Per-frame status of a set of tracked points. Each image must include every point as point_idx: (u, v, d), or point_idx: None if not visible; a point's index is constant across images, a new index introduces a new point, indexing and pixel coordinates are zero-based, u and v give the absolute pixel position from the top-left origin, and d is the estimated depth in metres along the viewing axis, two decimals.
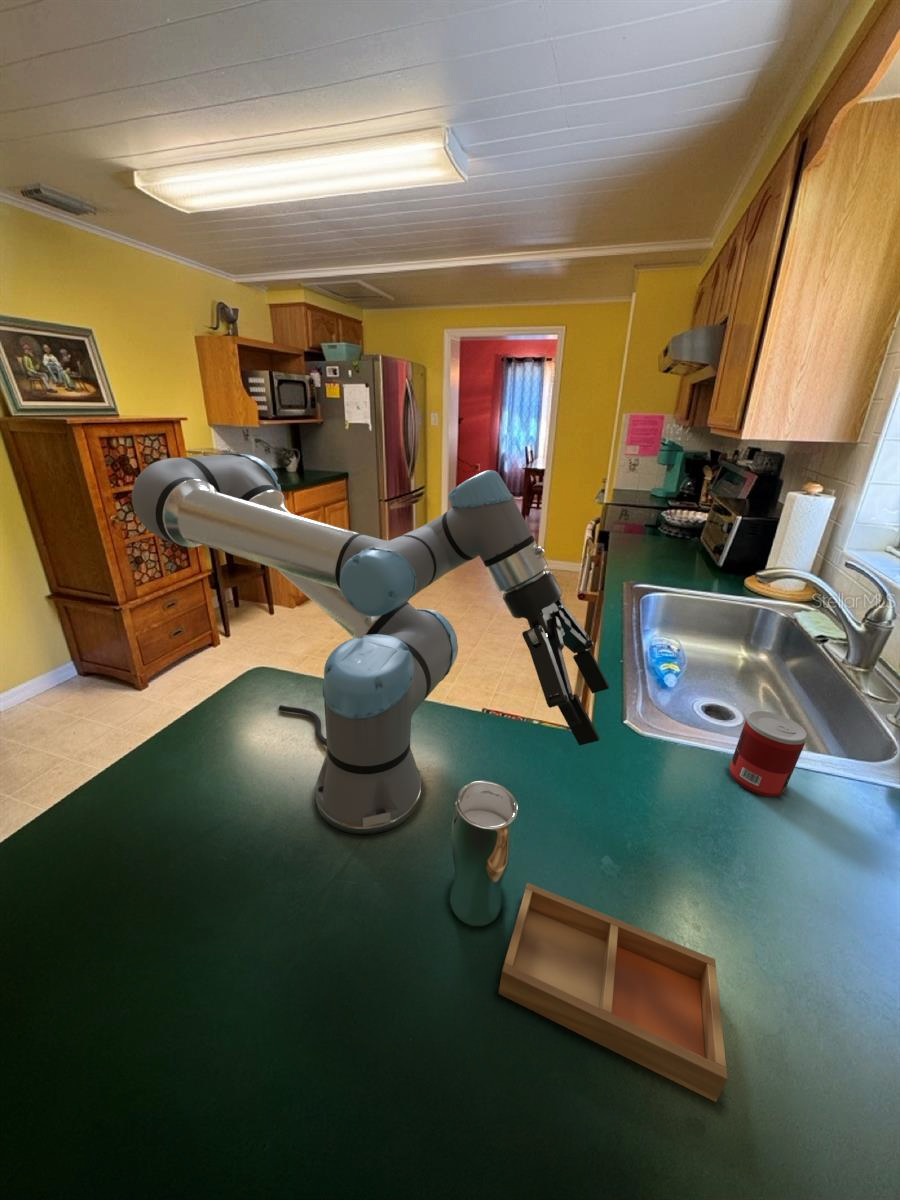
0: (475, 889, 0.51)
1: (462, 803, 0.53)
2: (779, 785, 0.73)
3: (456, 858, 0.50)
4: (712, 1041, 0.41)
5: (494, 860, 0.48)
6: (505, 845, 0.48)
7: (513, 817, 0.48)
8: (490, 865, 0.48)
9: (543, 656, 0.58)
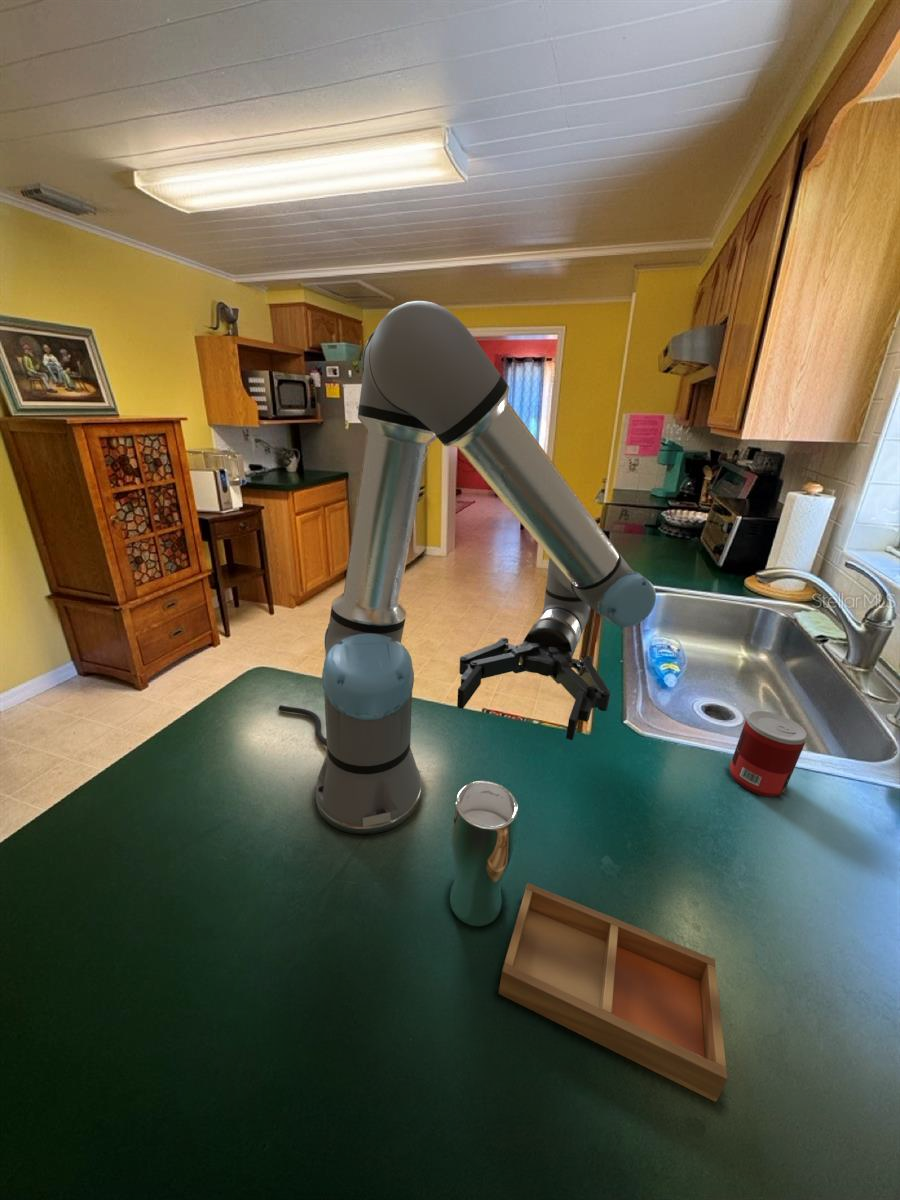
0: (475, 889, 0.51)
1: (462, 803, 0.53)
2: (779, 785, 0.73)
3: (456, 858, 0.50)
4: (712, 1041, 0.41)
5: (494, 860, 0.48)
6: (505, 845, 0.48)
7: (513, 817, 0.48)
8: (490, 865, 0.48)
9: None
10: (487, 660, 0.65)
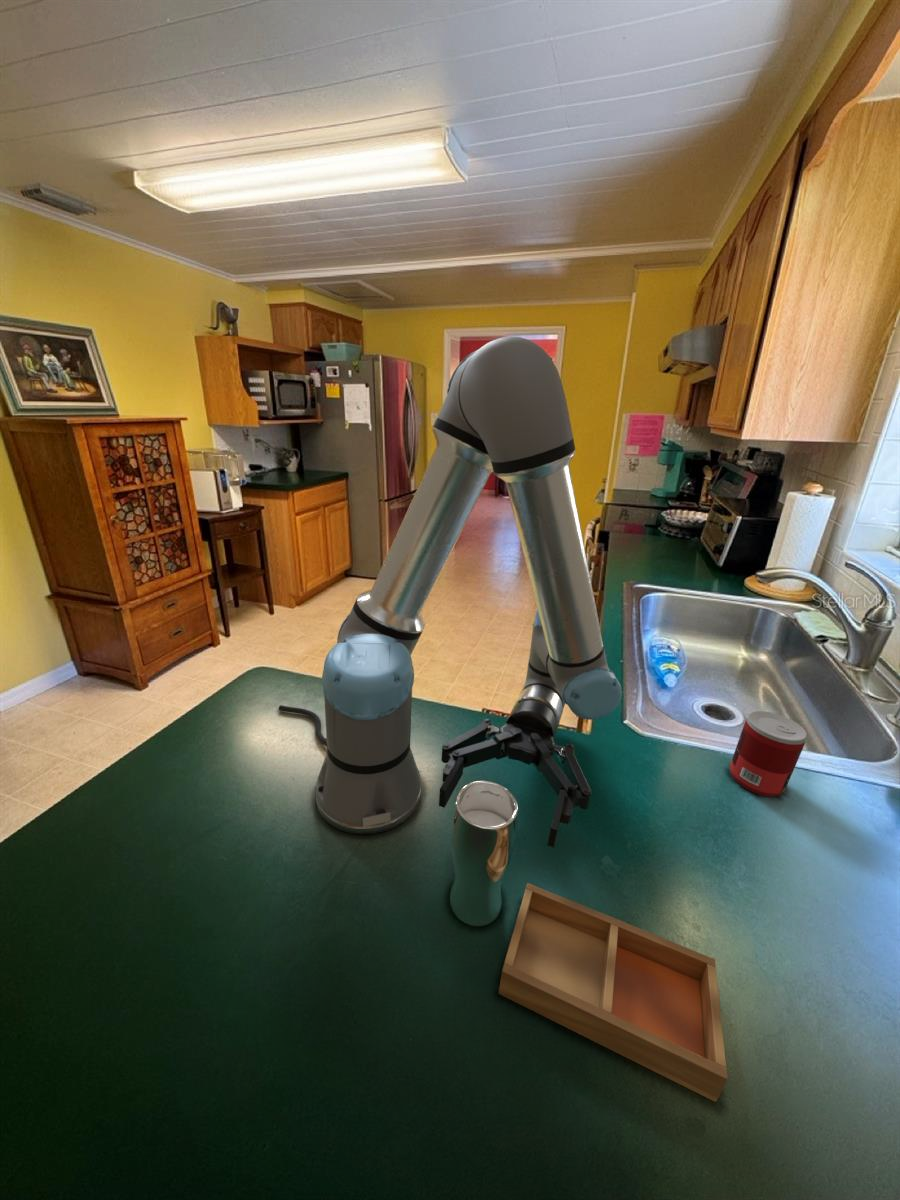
0: (475, 889, 0.51)
1: (462, 803, 0.53)
2: (779, 785, 0.73)
3: (456, 858, 0.50)
4: (712, 1041, 0.41)
5: (494, 860, 0.48)
6: (505, 845, 0.48)
7: (513, 817, 0.48)
8: (490, 865, 0.48)
9: None
10: (469, 749, 0.65)
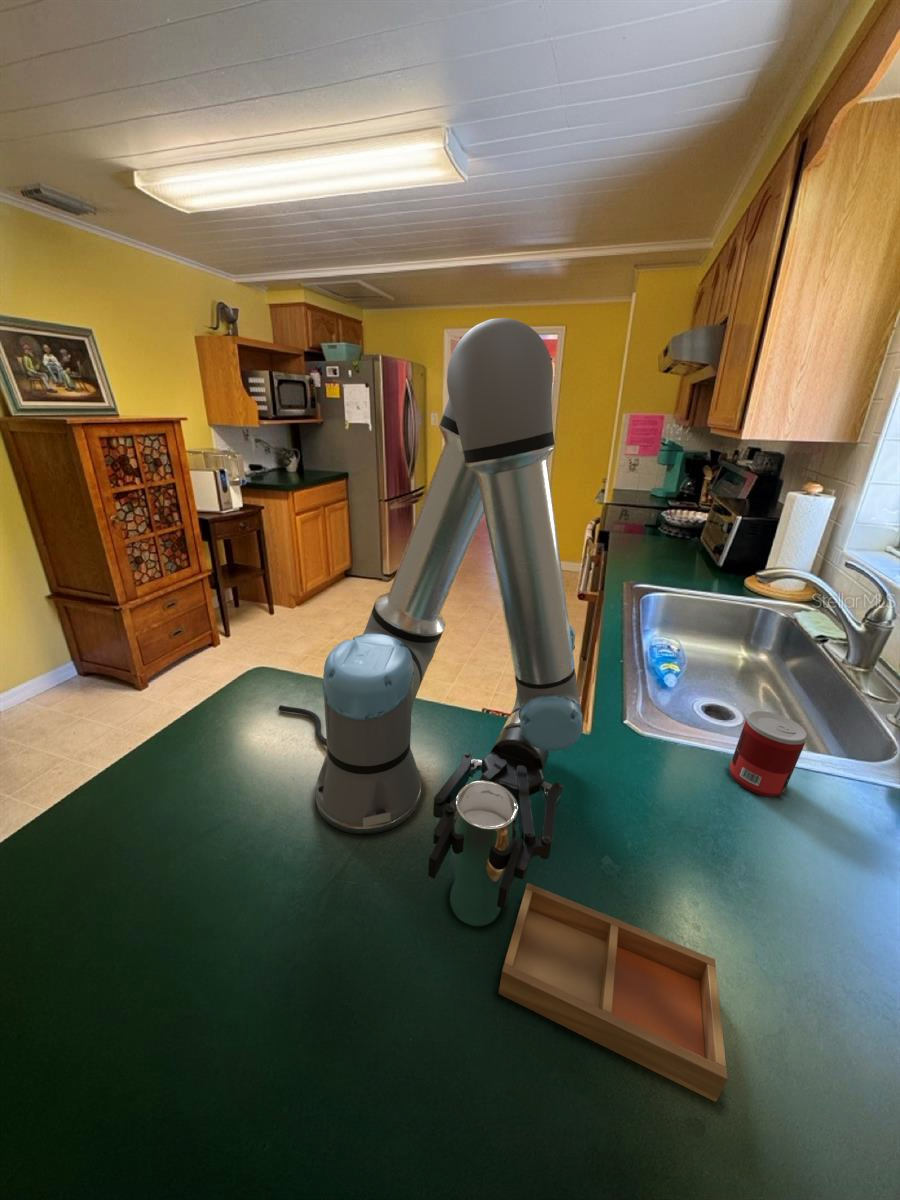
0: (475, 889, 0.51)
1: (462, 803, 0.53)
2: (779, 785, 0.73)
3: (456, 858, 0.50)
4: (712, 1041, 0.41)
5: (494, 860, 0.48)
6: (505, 845, 0.48)
7: (513, 817, 0.48)
8: (490, 865, 0.48)
9: None
10: None
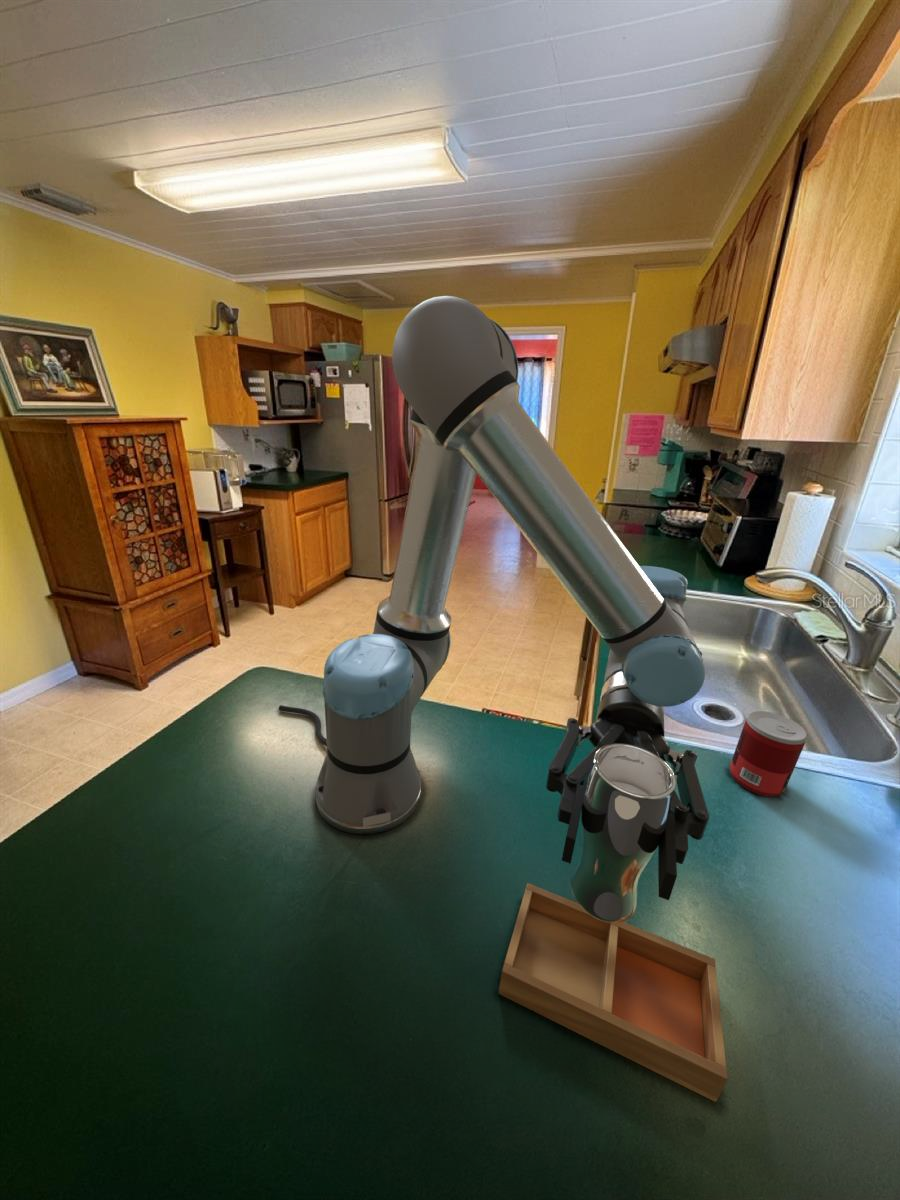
0: (616, 876, 0.41)
1: None
2: (779, 785, 0.73)
3: (594, 838, 0.40)
4: (712, 1041, 0.41)
5: (649, 839, 0.38)
6: (663, 820, 0.38)
7: (673, 784, 0.38)
8: (643, 845, 0.38)
9: None
10: (583, 768, 0.46)
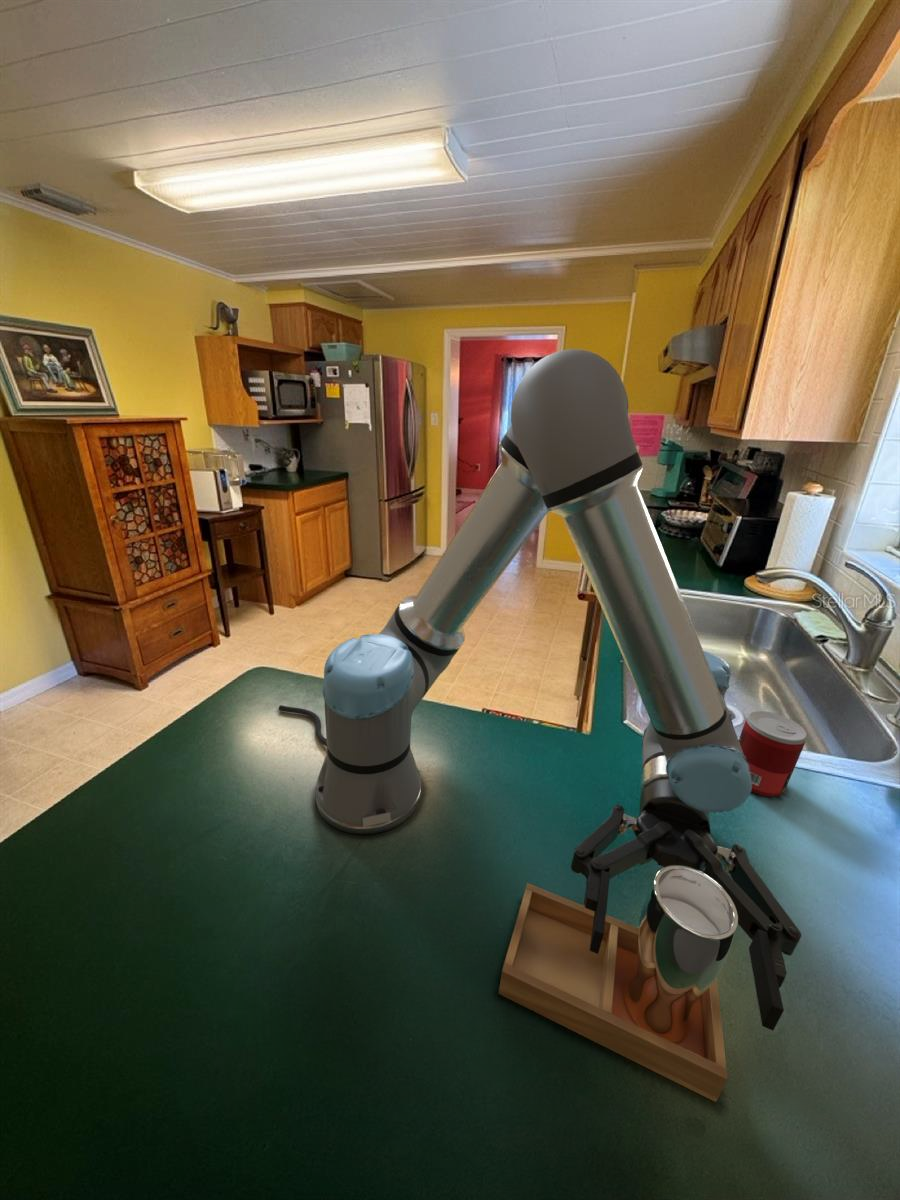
0: (675, 1002, 0.41)
1: None
2: (779, 785, 0.73)
3: (654, 965, 0.41)
4: (712, 1041, 0.41)
5: (712, 973, 0.39)
6: (726, 955, 0.39)
7: (736, 920, 0.39)
8: (706, 979, 0.39)
9: None
10: (612, 857, 0.49)
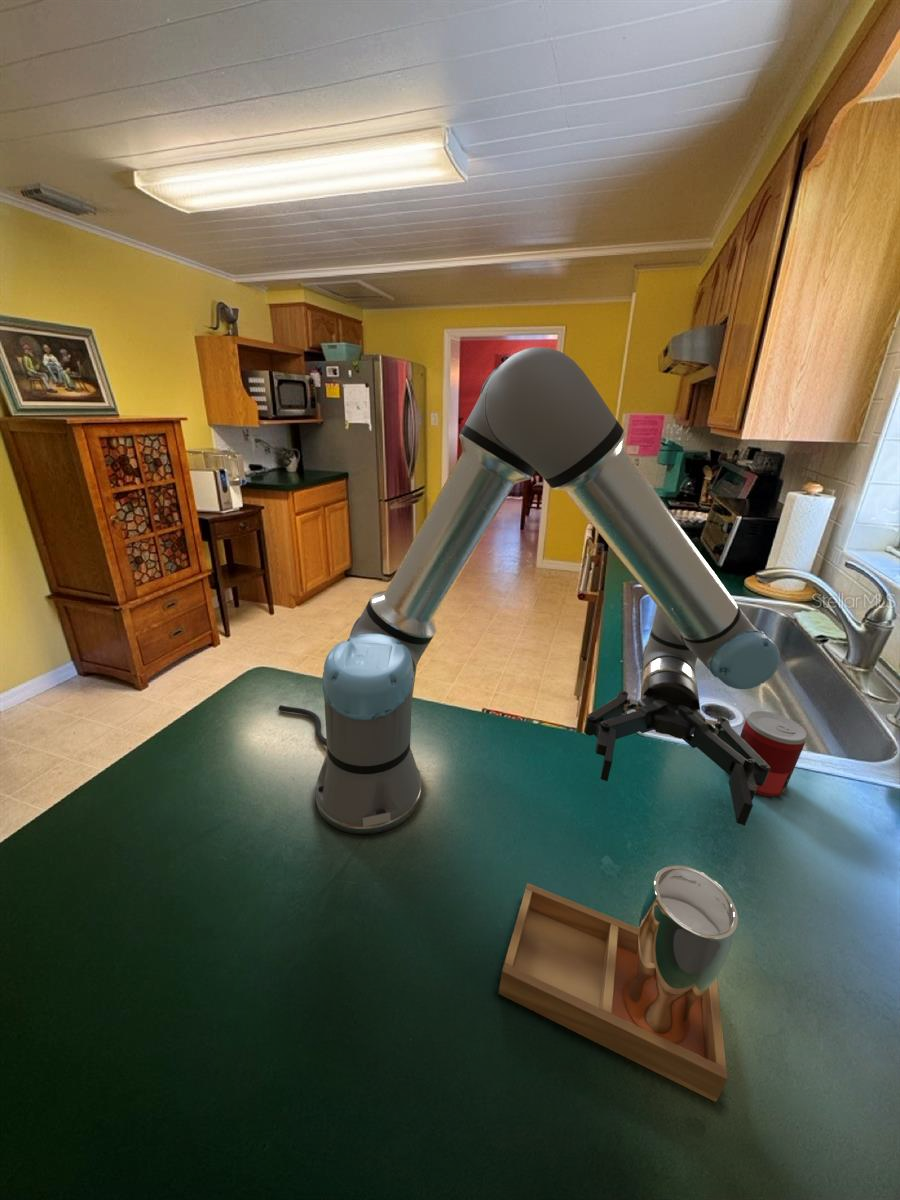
0: (675, 1002, 0.41)
1: None
2: (779, 785, 0.73)
3: (654, 965, 0.41)
4: (712, 1041, 0.41)
5: (712, 973, 0.39)
6: (726, 955, 0.39)
7: (736, 920, 0.39)
8: (706, 979, 0.39)
9: None
10: (618, 720, 0.59)
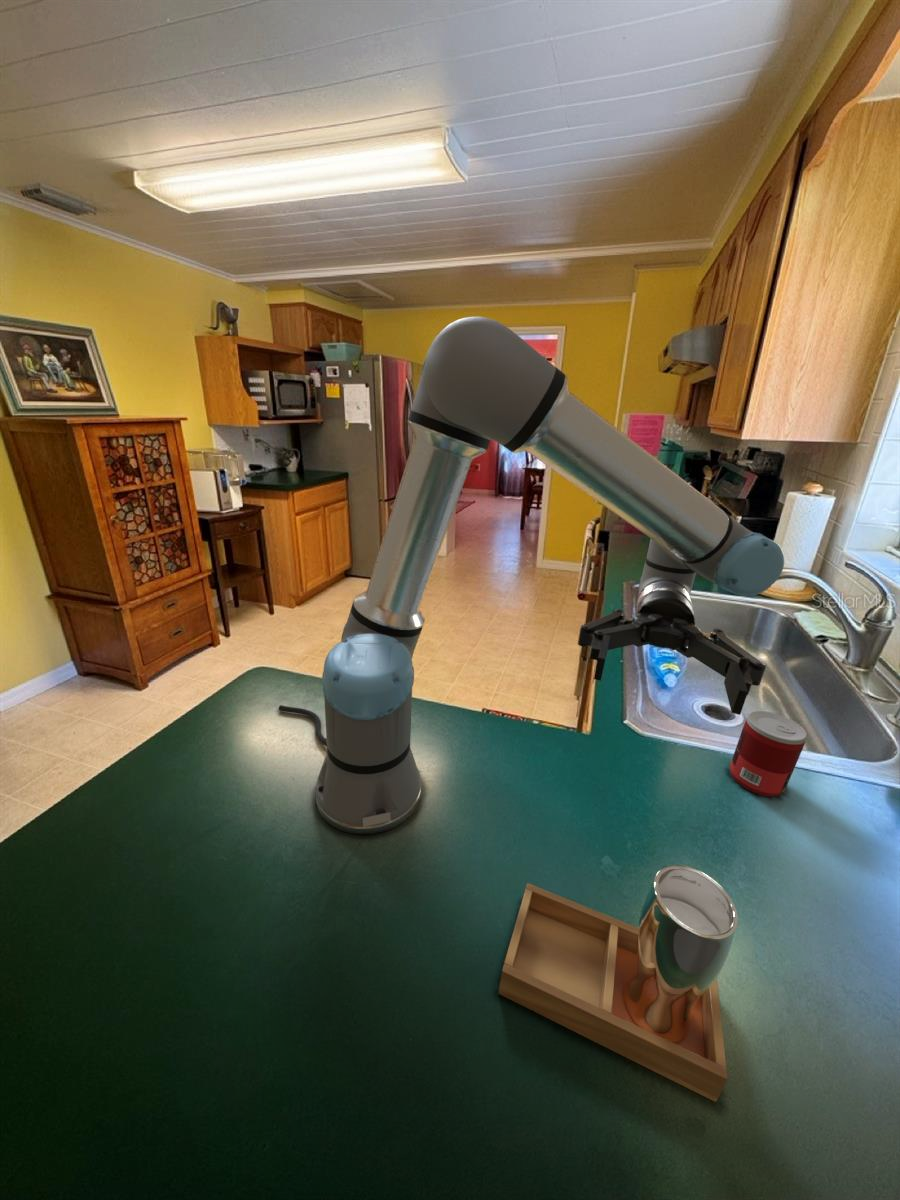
0: (675, 1002, 0.41)
1: None
2: (779, 785, 0.73)
3: (654, 965, 0.41)
4: (712, 1041, 0.41)
5: (712, 973, 0.39)
6: (726, 955, 0.39)
7: (736, 920, 0.39)
8: (706, 979, 0.39)
9: None
10: (612, 630, 0.58)
